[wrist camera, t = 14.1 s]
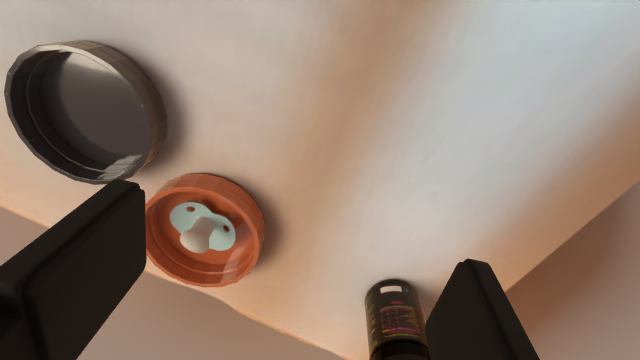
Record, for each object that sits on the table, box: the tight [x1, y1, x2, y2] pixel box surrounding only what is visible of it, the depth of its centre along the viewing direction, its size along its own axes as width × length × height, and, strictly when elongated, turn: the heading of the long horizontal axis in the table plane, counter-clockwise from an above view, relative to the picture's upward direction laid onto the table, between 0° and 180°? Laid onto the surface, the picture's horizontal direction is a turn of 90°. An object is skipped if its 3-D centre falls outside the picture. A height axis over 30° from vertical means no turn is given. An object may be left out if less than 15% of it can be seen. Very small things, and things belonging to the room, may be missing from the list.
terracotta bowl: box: [145, 174, 265, 287], centre depth 39 cm, size 13×13×4 cm
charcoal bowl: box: [4, 40, 166, 185], centre depth 33 cm, size 13×13×4 cm
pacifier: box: [170, 201, 236, 253], centre depth 37 cm, size 7×6×6 cm
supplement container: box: [365, 280, 431, 360], centre depth 39 cm, size 7×7×10 cm
